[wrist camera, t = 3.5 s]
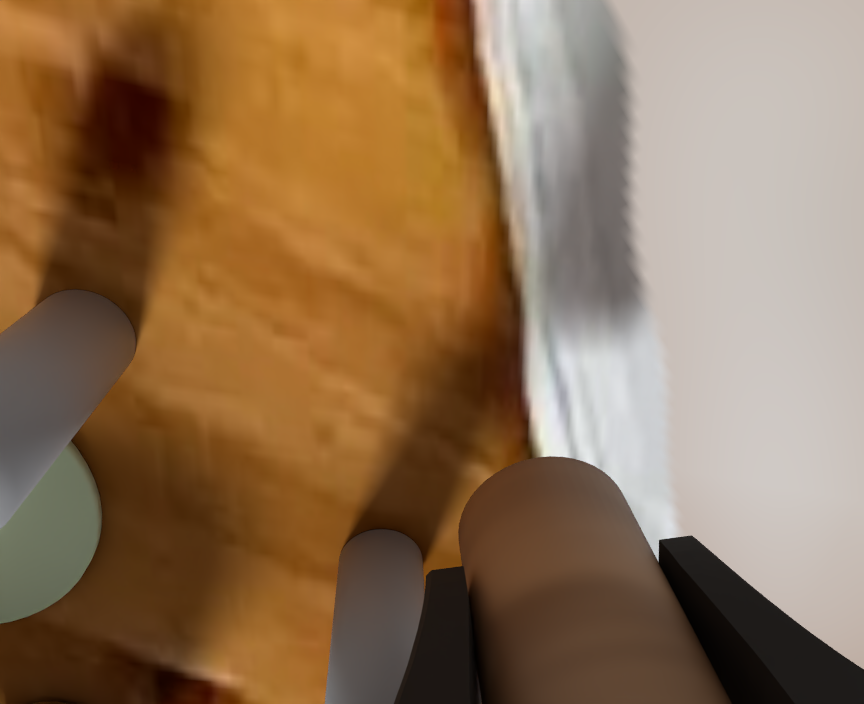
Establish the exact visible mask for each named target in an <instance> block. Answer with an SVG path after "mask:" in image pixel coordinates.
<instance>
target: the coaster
mask: <svg viewBox="0 0 864 704" xmlns="http://www.w3.org/2000/svg"><path fill="white" fill-rule="evenodd" d="M101 529H102V508H101V501H100V496H99V492H98V489H97V486H96V482H95V480H94V477H93V475H92V473H91V471H90V469H89V467H88V465H87V463H86V461H85V460H84V458H83V457H82V455H81V454H80V452H79V450H78V449H77V448H76V446H75V445H74V444H73V443H72V441H70V442H69V443H68V445H67V446H66V447H65V448H64V450H63V451H62V452H61V454H60V455H59V456H58V458H57V459H56V460H55V461H54V463H53V464H52V465H51V467H50V468H49V469H48V470H47V472H46V473H45V474H44V476H43V477H42V478H41V479H40V481H39V482H38V483H37V485H36V486H35V487H34V489H33V490H32V491H31V492H30V494H29V495H28V496H27V498H26V499H25V500H24V501H23V503H22V504H21V505H20V507H19V508H18V509H17V511H16V512H15V513H14V514H13V516H12V517H11V518H10V520H9V521H8V522H7V523H6V524H5V525H4V526H3V527H2V528H1V529H0V624H1V623H7V622H12V621H15V620H18V619H21V618H25V617H28V616H30V615H32V614H35V613H37V612H39V611H42V610H44V609H45V608H47V607H49V606H50V605H52V604H54V603H55V602H57V601H58V600H59V599H61V598H62V597H63V596H64V595H65V594H67V593H68V592H69V591H70V590H71V589H72V588H73V587H74V585H75V584H76V583H77V582H78V581H79V580H80V578H81V577H82V575H83V573H84V572H85V570H86V569H87V567H88V565H89V563H90V562H91V560H92V558H93V556H94V553H95V551H96V548H97V546H98V543H99V539H100V534H101Z"/></svg>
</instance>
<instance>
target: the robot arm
mask: <svg viewBox="0 0 864 704" xmlns="http://www.w3.org/2000/svg"><path fill="white" fill-rule="evenodd" d="M659 565H660V567H661V568H662V570H663V572H664V574H665V576H666V578H667V580H668V582H669V584H670V586H671V588H672V590H673V591H674V593H675V595H676V597H677V599H678V601H679V603H680V605H681V607H682V609H683V611H684V613H685V614H686V616H687V618H688V620H689V622H690V624H691V626H692V628H693V630H694V632H695V634H696V636H697V637H698V639H699V641H700V643H701V645H702V647H703V649H704V651H705V653H706V655H707V657H708V659H709V660H710V662H711V664H712V666H713V668H714V670H715V672H716V674H717V676H718V678H719V680H720V681H721V683H722V685H723V687H724V689H725V691H726V693H727V695H728V697H729V699H730V701H731V703H732V704H864V669H862V668H860V667H859V666H857V665H856V664H854V663H853V662H851V661H850V660H848V659H847V658H845V657H844V656H842V655H841V654H840V653H838V652H837V651H835V650H834V649H833V648H831V647H829V646H828V645H827V644H825V643H824V642H823V641H821V640H820V639H818V638H817V637H816V636H814V635H813V634H811V633H810V632H809V631H808V630H806V629H805V628H804V627H802V626H801V625H800V624H798V623H797V622H796V621H794V620H793V619H792V618H790V617H789V616H788V615H787V614H785V613H784V612H783V611H781V610H780V609H779V608H778V607H777V606H775V605H774V604H773V603H771V602H770V601H769V600H768V599H766V598H765V597H764V596H763V595H762V594H760V593H759V592H758V591H757V590H755V589H754V588H753V587H752V586H751V585H749V584H748V583H747V582H746V581H744V580H743V579H742V578H741V577H740V576H739V575H738V574H736V573H735V572H734V571H733V570H732V569H730V568H729V567H728V566H727V565H726V564H725V563H724V562H722V561H721V560H720V559H719V558H718V557H717V556H715V555H714V554H713V553H712V552H711V551H710V550H708V549H707V548H706V547H705V546H704V545H702V544H701V543H700V542H699V541H698V540H697V539H695V538H694V537H693V536H685V537H677V538H670V539H662V540H659ZM394 704H482V701H481V693H480V686H479V679H478V672H477V665H476V658H475V648H474V637H473V629H472V621H471V613H470V605H469V596H468V590H467V583H466V577H465V571H464V566H460V567H453V568H446V569H438V570H431V571H430V572H429V573H428V574H427V576H426V587H425V595H424V602H423V607H422V612H421V617H420V621H419V625H418V630H417V633H416V637H415V640H414V644H413V647H412V651H411V654H410V658H409V661H408V665H407V668H406V671H405V674H404V676H403V679H402V682H401V685H400V688H399V690H398V693H397V696H396V699H395V702H394Z"/></svg>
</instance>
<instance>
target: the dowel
mask: <svg viewBox="0 0 864 704" xmlns="http://www.w3.org/2000/svg"><path fill="white" fill-rule="evenodd" d="M458 533H459V546H460V553H461V560H462V566H464V571H465V577H466V583H467V590H468V596H469V605H470V613H471V621H472V629H473V637H474V648H475V658H476V665H477V672H478V679H479V686H480V693H481V700H482V704H732V703H731V701H730V699H729V697H728V695H727V693H726V691H725V689H724V687H723V685H722V683H721V681H720V680H719V678H718V676H717V674H716V672H715V670H714V668H713V666H712V664H711V662H710V660H709V659H708V657H707V655H706V653H705V651H704V649H703V647H702V645H701V643H700V641H699V639H698V637H697V636H696V634H695V632H694V630H693V628H692V626H691V624H690V622H689V620H688V618H687V616H686V614H685V613H684V611H683V609H682V607H681V605H680V603H679V601H678V599H677V597H676V595H675V593H674V591H673V590H672V588H671V586H670V584H669V582H668V580H667V578H666V576H665V574H664V572H663V570H662V568H661V567H660V565H659V563H658V561H657V559H656V557H655V555H654V553H653V551H652V549H651V547H650V545H649V544H648V542H647V540H646V538H645V536H644V534H643V532H642V530H641V528H640V526H639V524H638V522H637V521H636V519H635V517H634V515H633V513H632V511H631V509H630V507H629V505H628V503H627V501H626V499H625V498H624V496H623V494H622V492H621V490H620V489H619V487H618V486H617V484H616V483H615V482H614V481H613V480H612V479H611V478H610V477H609V476H608V475H607V474H605V473H604V472H603V471H601V470H600V469H598V468H596V467H595V466H593V465H590V464H588V463H586V462H583V461H580V460H576V459H572V458H565V457H539V458H534V459H528V460H525V461H521V462H518V463H515V464H513V465H511V466H508V467H506V468H504V469H502V470H501V471H499V472H497V473H495V474H494V475H493V476H491V477H490V478H489V479H487V480H486V481H485V482H484V483H483V484H482V485H481V486H480V487H478V489H477V490H476V491H475V492H474V493H473V495H472V496H471V497H470V499H469V501H468V502H467V504H466V506H465V508H464V510H463V513H462V516H461V519H460V523H459V532H458Z"/></svg>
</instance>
